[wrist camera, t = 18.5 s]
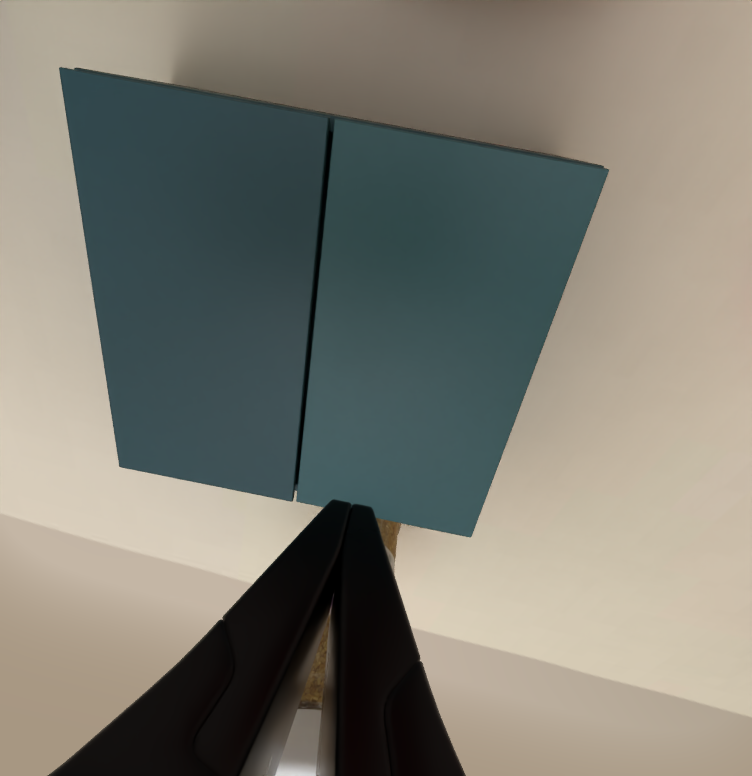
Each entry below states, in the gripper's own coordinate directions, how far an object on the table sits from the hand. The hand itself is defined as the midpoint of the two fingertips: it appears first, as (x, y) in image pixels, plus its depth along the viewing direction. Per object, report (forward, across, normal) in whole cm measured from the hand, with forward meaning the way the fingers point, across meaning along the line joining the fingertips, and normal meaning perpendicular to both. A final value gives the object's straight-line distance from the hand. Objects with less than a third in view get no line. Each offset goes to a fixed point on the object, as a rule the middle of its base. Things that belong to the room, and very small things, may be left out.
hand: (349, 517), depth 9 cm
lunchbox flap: (+7, -1, 0) cm, 7 cm away
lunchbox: (+13, +2, 0) cm, 13 cm away
